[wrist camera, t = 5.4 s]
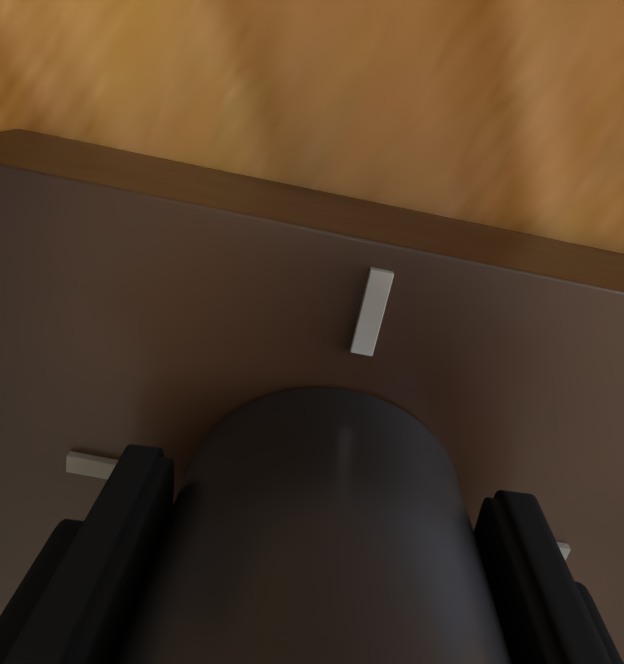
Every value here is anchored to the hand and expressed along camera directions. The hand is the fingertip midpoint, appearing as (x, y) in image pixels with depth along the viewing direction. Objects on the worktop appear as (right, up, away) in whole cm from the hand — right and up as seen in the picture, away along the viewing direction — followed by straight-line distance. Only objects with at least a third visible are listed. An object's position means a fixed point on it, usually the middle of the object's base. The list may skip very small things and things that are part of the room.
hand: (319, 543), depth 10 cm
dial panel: (0, +2, +4) cm, 4 cm away
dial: (0, 0, +1) cm, 1 cm away
